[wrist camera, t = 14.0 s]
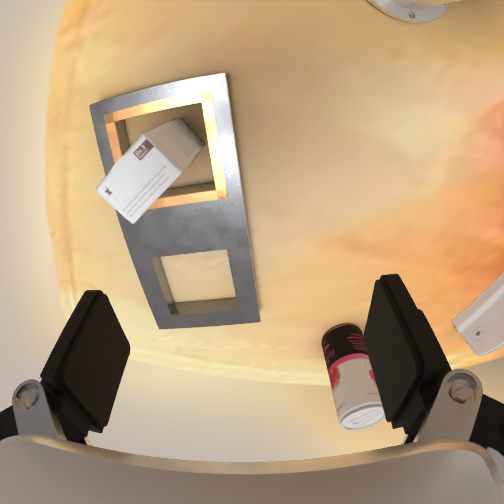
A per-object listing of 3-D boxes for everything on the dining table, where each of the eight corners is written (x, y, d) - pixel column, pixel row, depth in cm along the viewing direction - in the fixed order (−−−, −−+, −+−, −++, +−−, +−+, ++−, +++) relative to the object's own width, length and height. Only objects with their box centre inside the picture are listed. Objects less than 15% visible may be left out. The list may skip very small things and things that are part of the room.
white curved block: (514, 260, 40) (546, 301, 33) (514, 268, 43) (543, 306, 36) (449, 322, 46) (477, 366, 39) (453, 325, 49) (479, 366, 42)
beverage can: (312, 339, 46) (329, 424, 33) (347, 316, 44) (375, 401, 31) (336, 356, 49) (355, 434, 36) (368, 335, 46) (396, 413, 34)
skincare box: (168, 180, 33) (133, 231, 23) (139, 153, 31) (91, 192, 21) (208, 142, 31) (187, 177, 21) (178, 112, 29) (141, 132, 19)
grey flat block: (99, 102, 28) (88, 105, 26) (226, 73, 27) (224, 72, 25) (162, 317, 43) (159, 330, 41) (259, 309, 43) (260, 323, 40)
